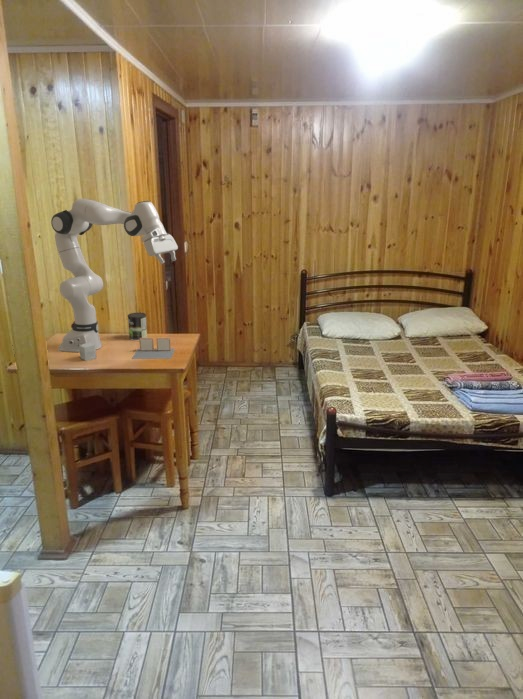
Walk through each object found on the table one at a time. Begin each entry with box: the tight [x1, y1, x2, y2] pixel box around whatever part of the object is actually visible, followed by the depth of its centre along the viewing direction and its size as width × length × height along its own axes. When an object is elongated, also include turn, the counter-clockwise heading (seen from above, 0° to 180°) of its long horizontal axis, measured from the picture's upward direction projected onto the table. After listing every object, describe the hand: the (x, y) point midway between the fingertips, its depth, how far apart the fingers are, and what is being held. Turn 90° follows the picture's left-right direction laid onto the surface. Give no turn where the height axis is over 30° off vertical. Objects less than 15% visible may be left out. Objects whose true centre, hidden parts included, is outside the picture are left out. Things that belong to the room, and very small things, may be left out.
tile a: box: [139, 337, 155, 351], centre depth 262 cm, size 7×2×7 cm, turn 92°
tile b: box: [156, 337, 172, 351], centre depth 263 cm, size 7×2×7 cm, turn 92°
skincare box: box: [79, 343, 97, 362], centre depth 251 cm, size 6×6×7 cm
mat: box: [131, 348, 176, 360], centre depth 259 cm, size 20×16×1 cm
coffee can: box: [127, 312, 148, 341], centre depth 283 cm, size 10×10×14 cm
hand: (168, 262), depth 232 cm, fingers open, 8 cm apart
